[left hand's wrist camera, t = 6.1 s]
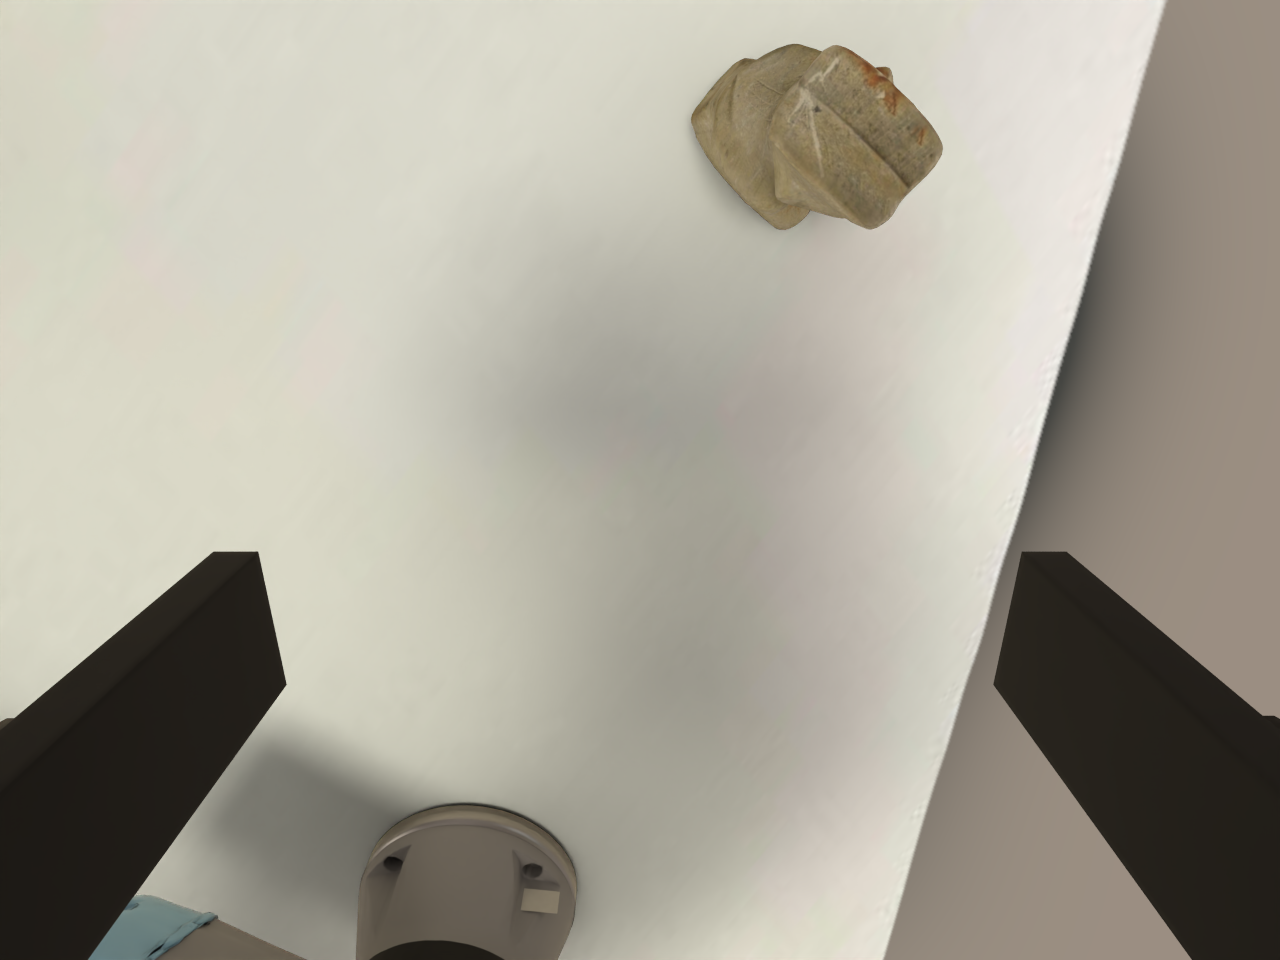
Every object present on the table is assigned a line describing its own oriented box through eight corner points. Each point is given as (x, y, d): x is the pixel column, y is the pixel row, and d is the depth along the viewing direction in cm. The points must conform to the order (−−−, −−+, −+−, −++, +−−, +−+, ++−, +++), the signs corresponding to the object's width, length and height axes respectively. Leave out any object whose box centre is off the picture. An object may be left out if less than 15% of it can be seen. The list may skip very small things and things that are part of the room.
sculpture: (766, 249, 37) (843, 283, 23) (666, 141, 35) (682, 106, 21) (855, 159, 35) (995, 136, 21) (754, 41, 34) (835, -68, 20)
